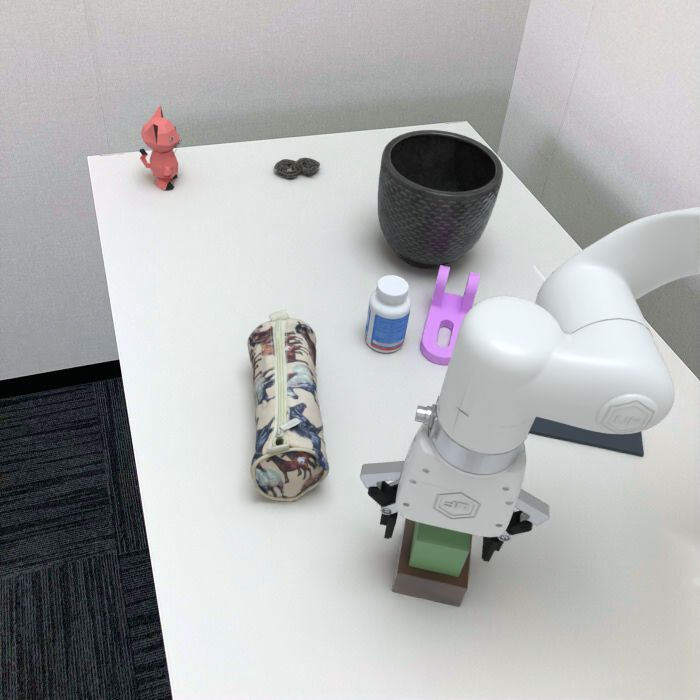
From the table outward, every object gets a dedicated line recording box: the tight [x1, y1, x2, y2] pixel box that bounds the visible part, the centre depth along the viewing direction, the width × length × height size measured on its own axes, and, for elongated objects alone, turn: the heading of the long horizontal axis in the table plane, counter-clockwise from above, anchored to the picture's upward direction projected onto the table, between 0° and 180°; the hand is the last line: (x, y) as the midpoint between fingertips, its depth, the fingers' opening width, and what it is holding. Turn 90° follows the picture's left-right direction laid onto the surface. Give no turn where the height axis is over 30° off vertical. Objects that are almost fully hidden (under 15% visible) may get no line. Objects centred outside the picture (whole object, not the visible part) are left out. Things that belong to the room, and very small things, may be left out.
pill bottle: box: [364, 274, 412, 354], centre depth 96 cm, size 6×5×10 cm
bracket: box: [420, 265, 481, 366], centre depth 100 cm, size 13×6×7 cm, turn 166°
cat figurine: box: [138, 103, 183, 191], centre depth 116 cm, size 7×7×12 cm
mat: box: [528, 417, 645, 458], centre depth 97 cm, size 18×18×1 cm
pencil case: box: [246, 309, 330, 502], centre depth 85 cm, size 22×8×10 cm, turn 6°
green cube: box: [409, 521, 471, 577], centre depth 72 cm, size 5×5×5 cm
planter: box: [377, 129, 504, 270], centre depth 108 cm, size 17×17×16 cm
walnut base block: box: [391, 517, 473, 608], centre depth 76 cm, size 7×7×4 cm
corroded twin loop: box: [273, 157, 321, 179], centre depth 126 cm, size 5×8×1 cm, turn 108°
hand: (437, 537), depth 72 cm, fingers open, 9 cm apart
